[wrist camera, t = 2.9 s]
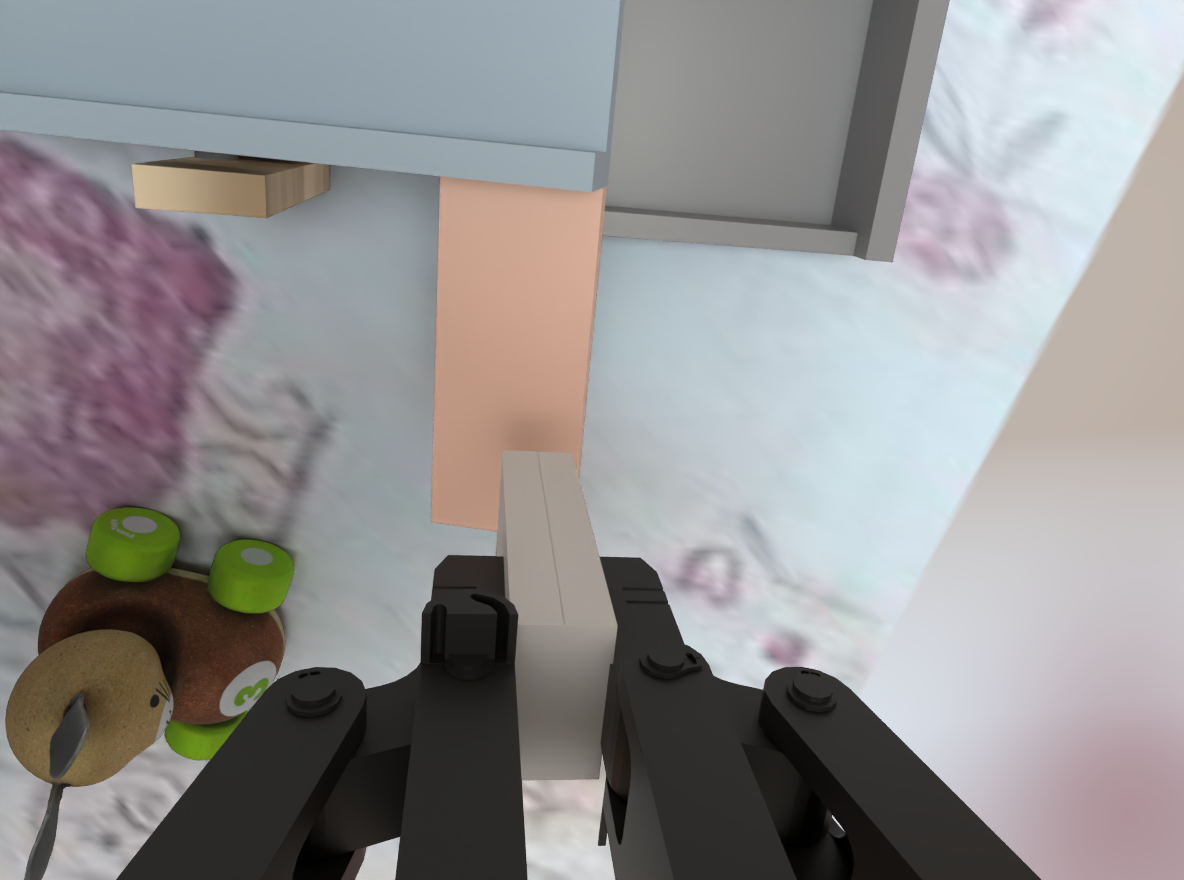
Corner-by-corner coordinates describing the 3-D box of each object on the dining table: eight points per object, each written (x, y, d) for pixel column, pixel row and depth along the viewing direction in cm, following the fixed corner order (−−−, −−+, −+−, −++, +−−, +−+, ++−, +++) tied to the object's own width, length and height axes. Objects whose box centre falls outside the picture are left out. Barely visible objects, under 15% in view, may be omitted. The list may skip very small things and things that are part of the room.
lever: (-12, 419, 27) (-172, 480, 22) (-110, -144, 22) (-352, -230, 17) (583, 502, 25) (553, 588, 20) (641, -88, 20) (620, -166, 15)
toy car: (261, 724, 37) (177, 958, 26) (48, 677, 34) (-134, 914, 24) (318, 553, 34) (250, 738, 24) (93, 490, 32) (-91, 665, 22)
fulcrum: (225, 180, 28) (113, 205, 20) (206, -124, 25) (63, -257, 16) (344, 190, 29) (287, 219, 20) (341, -105, 26) (271, -223, 17)
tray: (513, 219, 30) (518, 232, 26) (531, -97, 27) (540, -132, 23) (844, 246, 32) (892, 262, 28) (901, -44, 29) (964, -69, 25)
